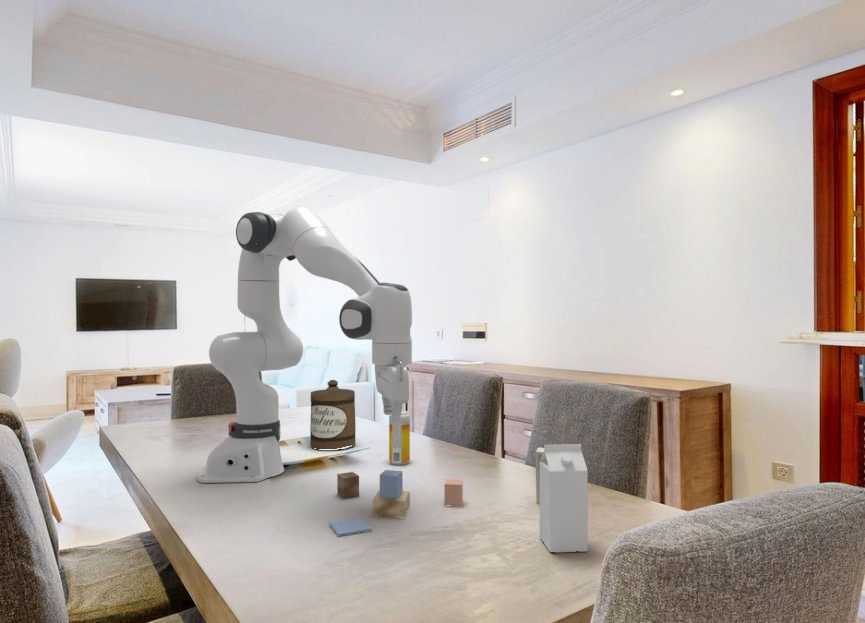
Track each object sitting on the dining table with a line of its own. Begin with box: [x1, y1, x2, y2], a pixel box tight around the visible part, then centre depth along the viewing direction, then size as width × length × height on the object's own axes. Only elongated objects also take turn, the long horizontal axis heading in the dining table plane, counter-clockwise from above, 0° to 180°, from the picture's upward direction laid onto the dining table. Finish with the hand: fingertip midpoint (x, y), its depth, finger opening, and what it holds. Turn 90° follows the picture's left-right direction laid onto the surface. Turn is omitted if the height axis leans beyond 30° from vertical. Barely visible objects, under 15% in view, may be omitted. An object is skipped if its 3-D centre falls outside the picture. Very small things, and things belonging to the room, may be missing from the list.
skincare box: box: [534, 447, 544, 504], centre depth 131 cm, size 6×4×12 cm
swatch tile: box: [328, 517, 373, 537], centre depth 115 cm, size 7×7×1 cm
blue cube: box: [379, 469, 403, 499], centre depth 124 cm, size 4×4×5 cm
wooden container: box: [309, 379, 357, 449], centre depth 187 cm, size 15×15×22 cm
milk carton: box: [539, 443, 589, 553], centre depth 106 cm, size 7×7×19 cm
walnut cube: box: [336, 471, 360, 500], centre depth 135 cm, size 4×4×5 cm
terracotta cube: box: [443, 478, 464, 507], centre depth 130 cm, size 4×4×5 cm
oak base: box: [371, 489, 411, 519], centre depth 124 cm, size 7×7×4 cm
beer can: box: [388, 410, 411, 466], centre depth 165 cm, size 6×6×15 cm
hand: (391, 418), depth 124 cm, fingers open, 8 cm apart
